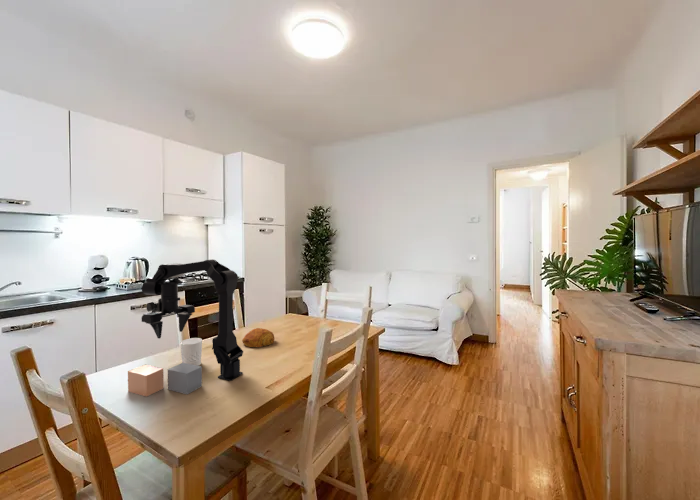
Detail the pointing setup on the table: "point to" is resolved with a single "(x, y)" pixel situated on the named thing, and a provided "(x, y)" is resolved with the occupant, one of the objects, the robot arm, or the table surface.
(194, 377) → the pale grey box
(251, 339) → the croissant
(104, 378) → the table surface
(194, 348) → the white cup
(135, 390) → the peach rectangular block
